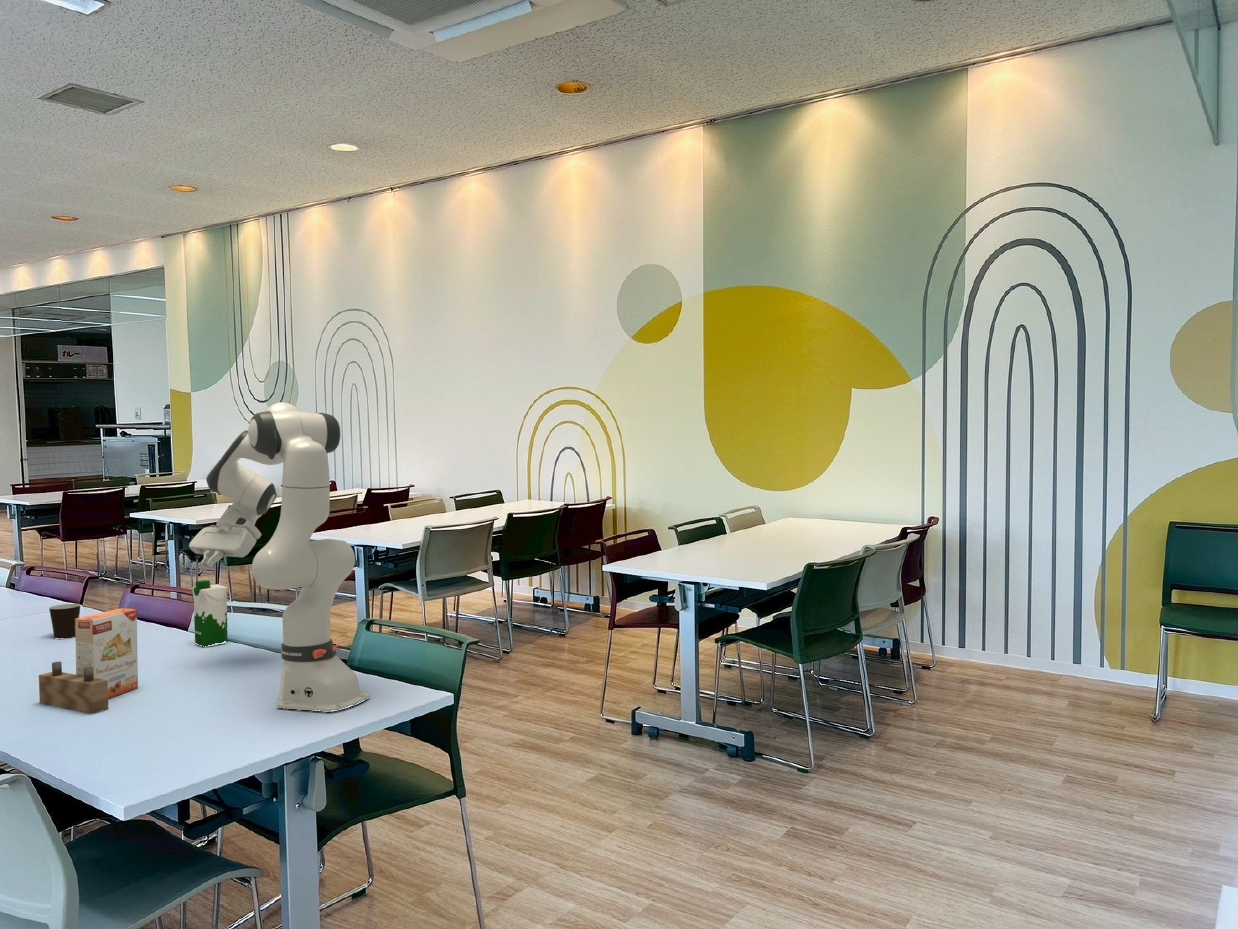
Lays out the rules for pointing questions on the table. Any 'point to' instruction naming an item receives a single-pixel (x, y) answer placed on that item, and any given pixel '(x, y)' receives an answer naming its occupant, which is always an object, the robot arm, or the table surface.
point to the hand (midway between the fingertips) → (205, 565)
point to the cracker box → (109, 648)
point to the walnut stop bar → (73, 690)
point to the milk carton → (210, 613)
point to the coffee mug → (64, 619)
